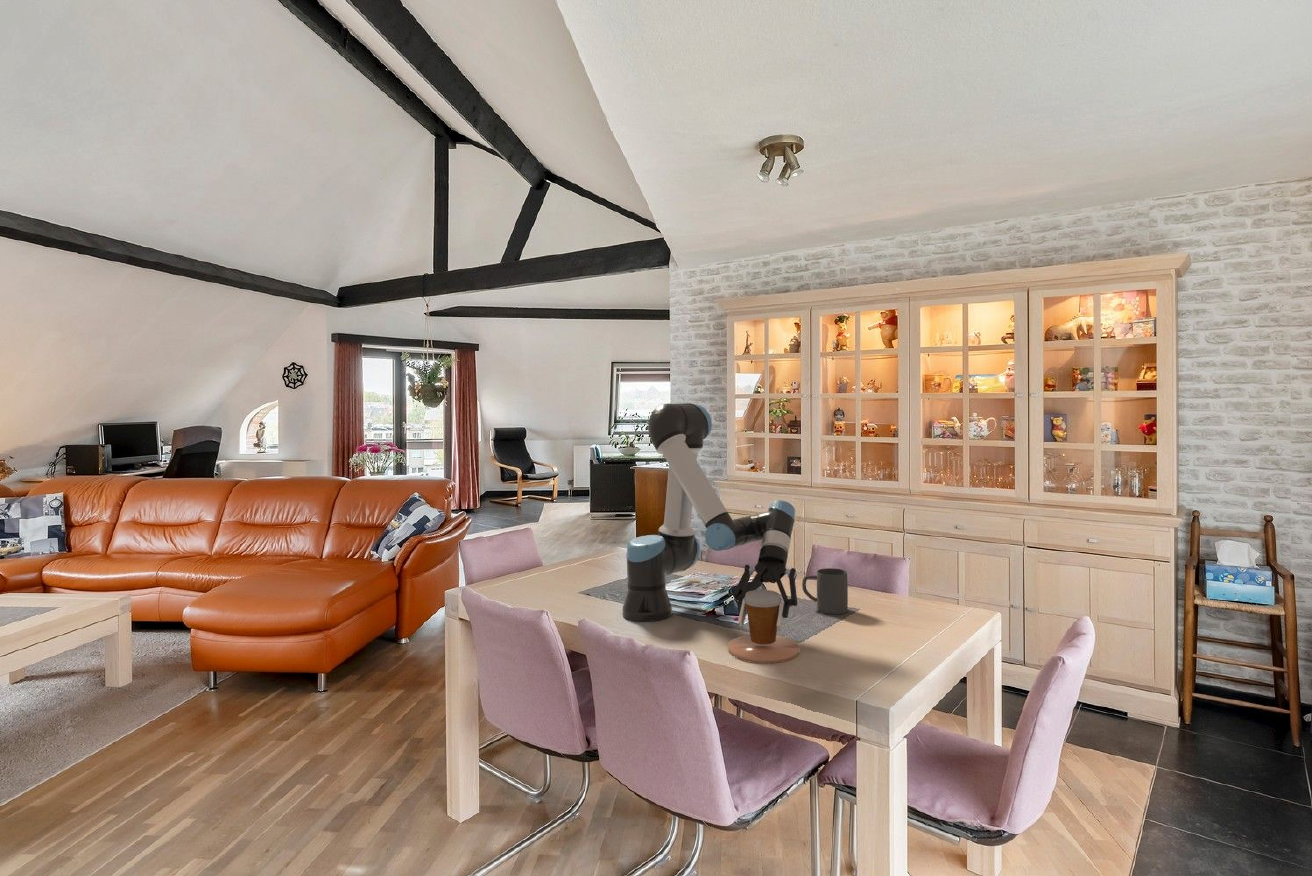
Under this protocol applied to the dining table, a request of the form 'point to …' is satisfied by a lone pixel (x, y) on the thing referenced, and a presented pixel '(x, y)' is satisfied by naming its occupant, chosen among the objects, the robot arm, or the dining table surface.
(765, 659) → the terracotta dish
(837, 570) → the mug
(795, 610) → the dining table surface
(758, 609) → the disposable coffee cup
